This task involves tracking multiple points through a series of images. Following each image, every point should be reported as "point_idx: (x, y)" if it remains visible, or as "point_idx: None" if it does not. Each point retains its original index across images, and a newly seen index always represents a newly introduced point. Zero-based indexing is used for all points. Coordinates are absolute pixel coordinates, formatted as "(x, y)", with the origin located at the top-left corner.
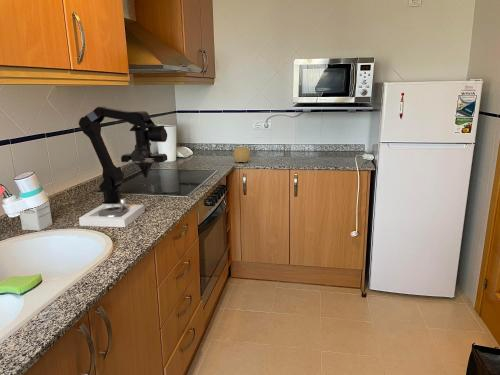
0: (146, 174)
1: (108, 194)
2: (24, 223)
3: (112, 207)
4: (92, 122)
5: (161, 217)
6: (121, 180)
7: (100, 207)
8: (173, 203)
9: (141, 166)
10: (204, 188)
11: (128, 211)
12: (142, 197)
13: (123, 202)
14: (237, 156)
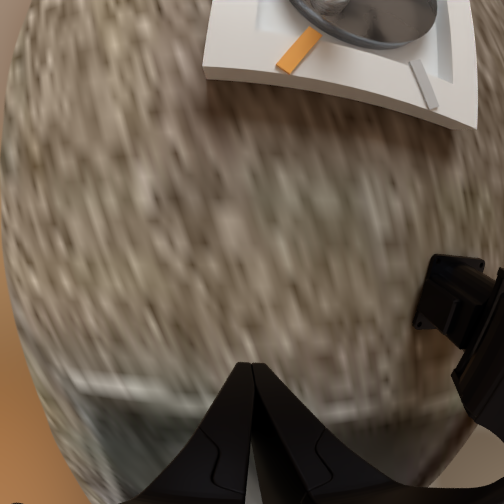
0: (228, 385)
1: (488, 277)
2: None
3: (405, 37)
4: None
5: (87, 8)
6: (472, 374)
7: (463, 60)
8: (83, 263)
9: (336, 492)
10: (75, 459)
11: (300, 32)
12: (314, 374)
13: None
14: None
